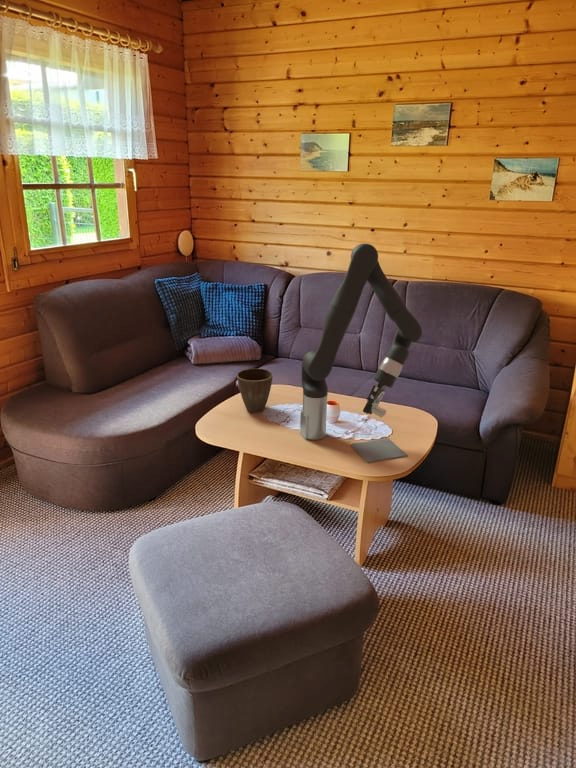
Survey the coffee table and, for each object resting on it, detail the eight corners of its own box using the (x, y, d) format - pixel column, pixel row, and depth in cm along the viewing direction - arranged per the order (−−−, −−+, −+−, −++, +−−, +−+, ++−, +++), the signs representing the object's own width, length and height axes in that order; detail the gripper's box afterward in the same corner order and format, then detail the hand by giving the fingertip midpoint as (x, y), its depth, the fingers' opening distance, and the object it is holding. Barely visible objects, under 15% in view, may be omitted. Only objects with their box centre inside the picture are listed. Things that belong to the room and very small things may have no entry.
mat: (367, 462, 195) (367, 461, 195) (350, 445, 207) (350, 443, 207) (407, 456, 200) (407, 455, 200) (388, 439, 212) (388, 438, 212)
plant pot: (252, 419, 227) (252, 383, 221) (230, 408, 237) (229, 373, 231) (279, 410, 236) (280, 375, 230) (257, 399, 246) (257, 365, 241)
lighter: (383, 413, 197) (363, 403, 199) (381, 417, 197) (361, 407, 200) (389, 408, 203) (369, 398, 205) (387, 412, 203) (368, 402, 206)
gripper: (382, 369, 209) (361, 409, 210) (376, 365, 196) (353, 407, 197) (400, 378, 207) (379, 418, 208) (395, 375, 193) (372, 417, 194)
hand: (366, 412), depth 202 cm, fingers closed on lighter, 6 cm apart
